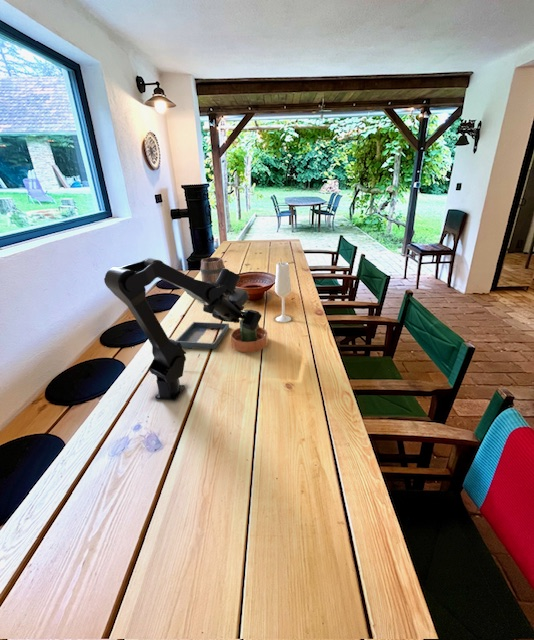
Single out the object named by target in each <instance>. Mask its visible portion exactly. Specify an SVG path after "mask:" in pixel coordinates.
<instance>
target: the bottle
mask: <svg viewBox="0 0 534 640" xmlns="http://www.w3.org/2000/svg"><path fill="white" fill-rule="evenodd" d="M249 310H251V309H250V308H247V309H243V310H242V312H246V313H247V312H248V311H249ZM239 320H240V322H239V328H240V333H241V342H252V341H257V340H258V339H257V329H255V330H254V331H252V330H249V329H246V328H244V327H243V325H242V322H243V320H244V319H241V318H240V319H239Z"/></svg>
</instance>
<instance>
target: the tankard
mask: <svg viewBox="0 0 534 640" xmlns="http://www.w3.org/2000/svg"><path fill="white" fill-rule="evenodd" d="M222 268H225V269H226V266H225V264H224V260H223V258H222V257H217V256H214V257H210V256H209V257H207V258H201V260H200V269H199V270H200V273H201V274H200V275H201V281H203V282H213V283H216V281H217V279H218V277H219V275H220V273H221V270H222ZM223 295H225V296H226V297H227V298H228V296H227V295H226V294H223ZM200 303H201V304H205V303H206V302H203V301H200Z"/></svg>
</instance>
